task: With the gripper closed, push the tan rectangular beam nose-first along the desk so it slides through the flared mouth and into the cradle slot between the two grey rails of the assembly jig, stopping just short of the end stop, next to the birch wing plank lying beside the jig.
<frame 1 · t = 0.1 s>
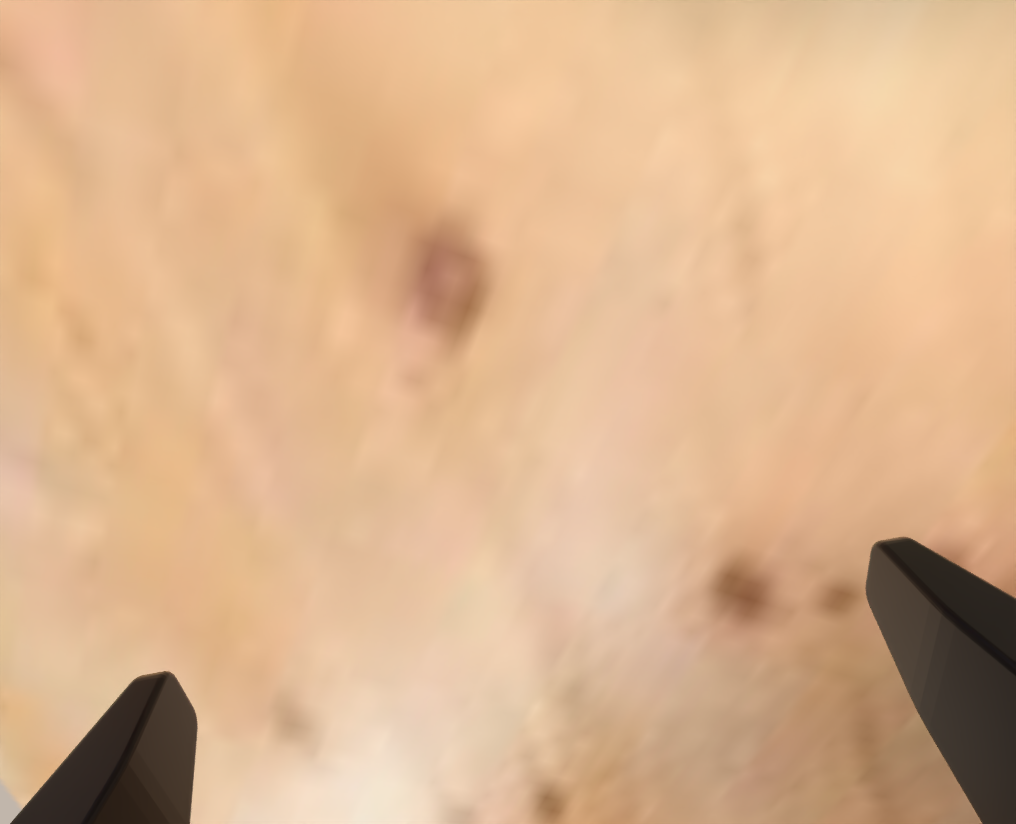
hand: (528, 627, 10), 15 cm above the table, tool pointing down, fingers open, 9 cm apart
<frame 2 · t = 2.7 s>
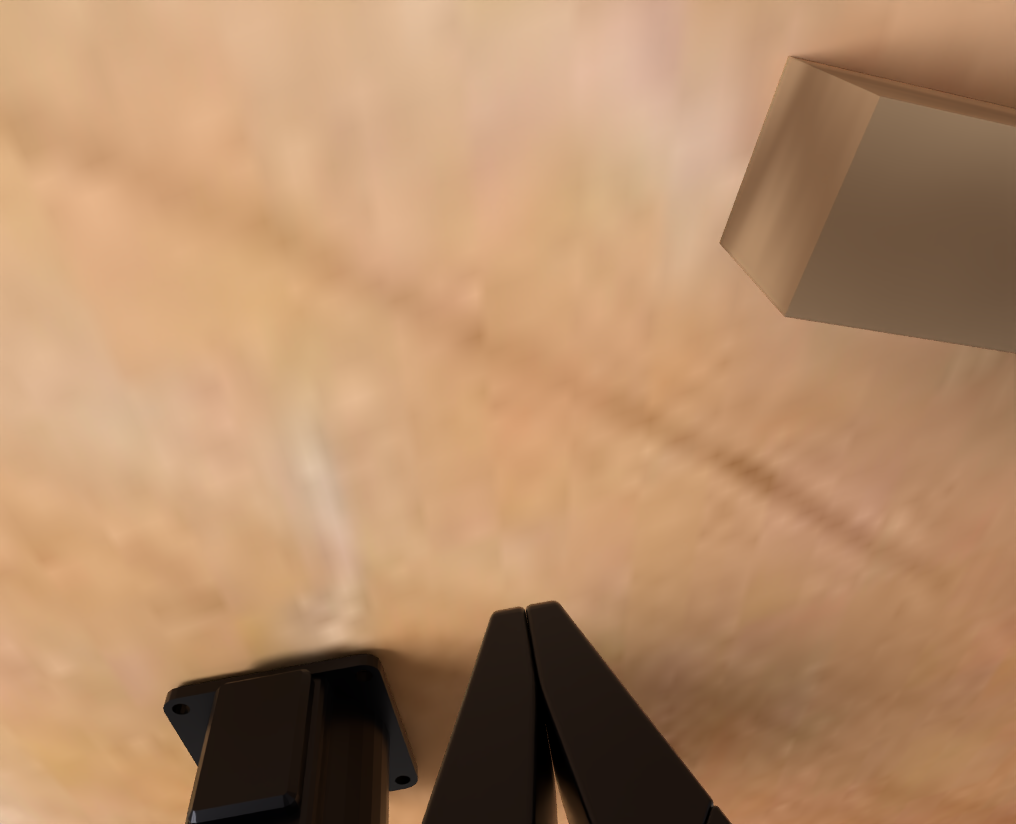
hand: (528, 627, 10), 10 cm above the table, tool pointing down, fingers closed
tan rectangular beam: (983, 199, 19), on the table
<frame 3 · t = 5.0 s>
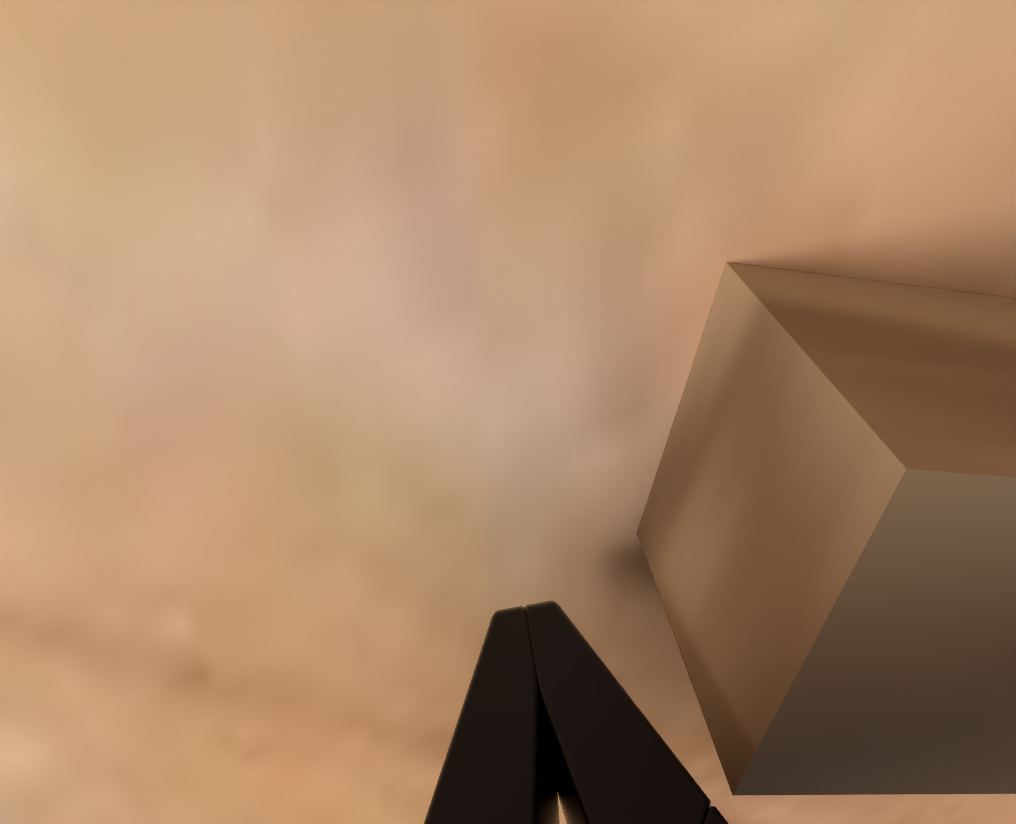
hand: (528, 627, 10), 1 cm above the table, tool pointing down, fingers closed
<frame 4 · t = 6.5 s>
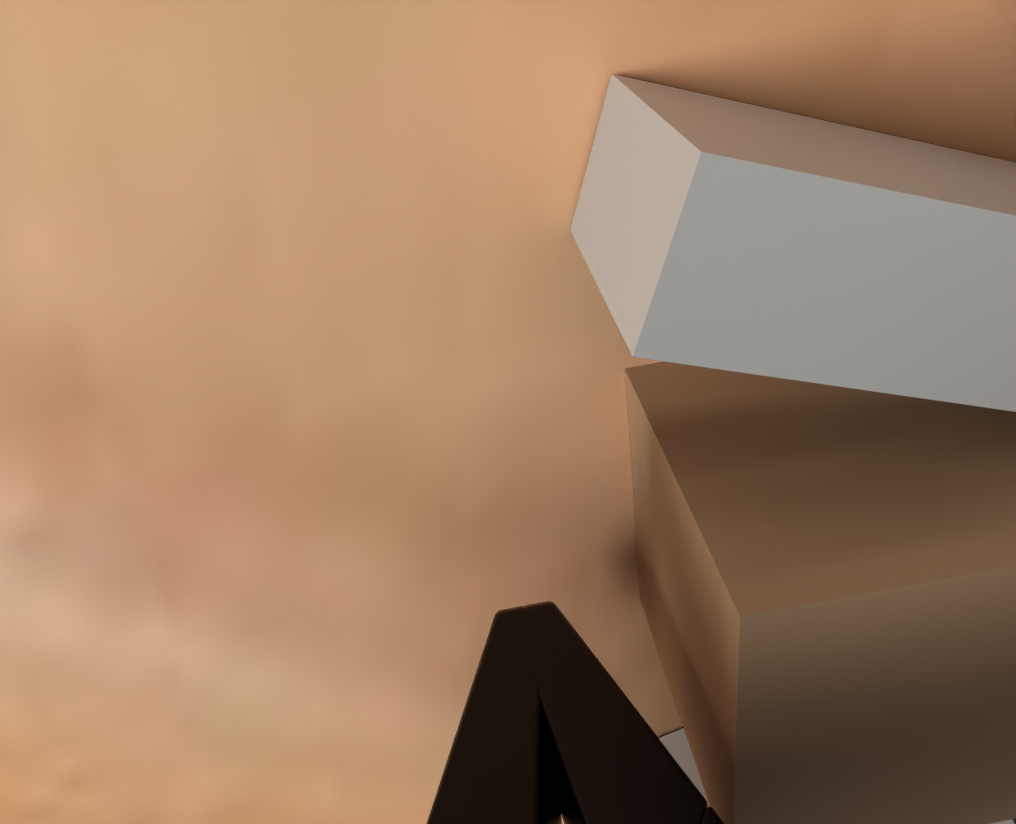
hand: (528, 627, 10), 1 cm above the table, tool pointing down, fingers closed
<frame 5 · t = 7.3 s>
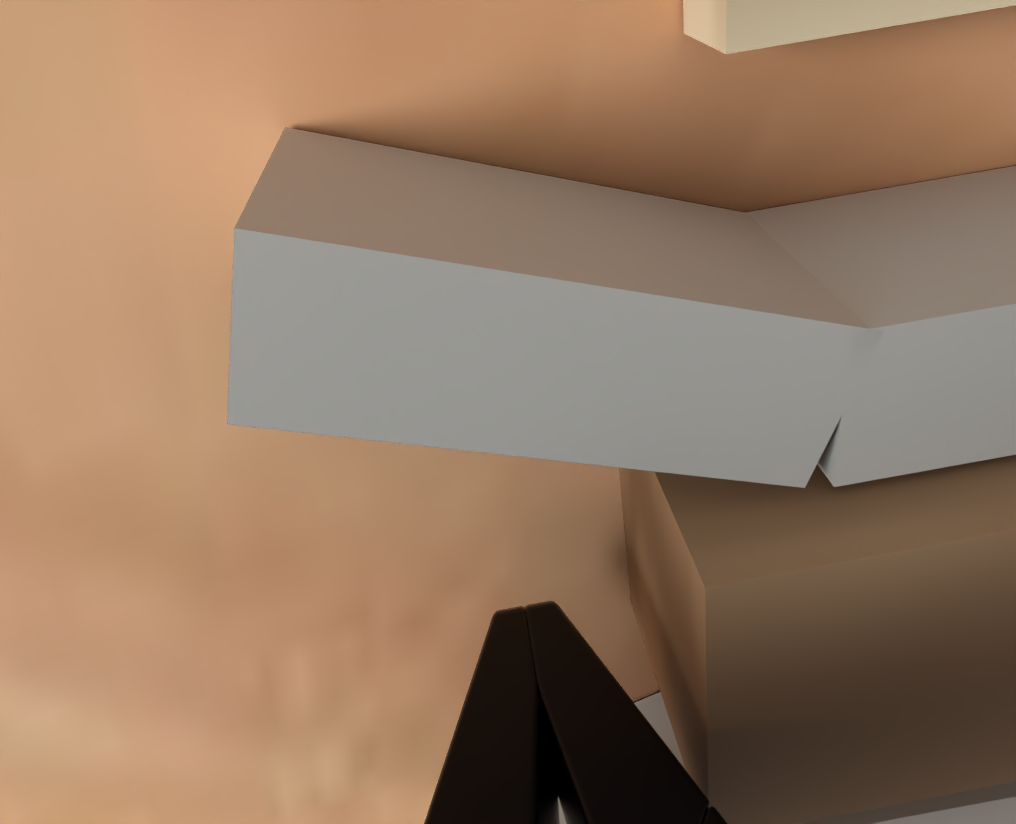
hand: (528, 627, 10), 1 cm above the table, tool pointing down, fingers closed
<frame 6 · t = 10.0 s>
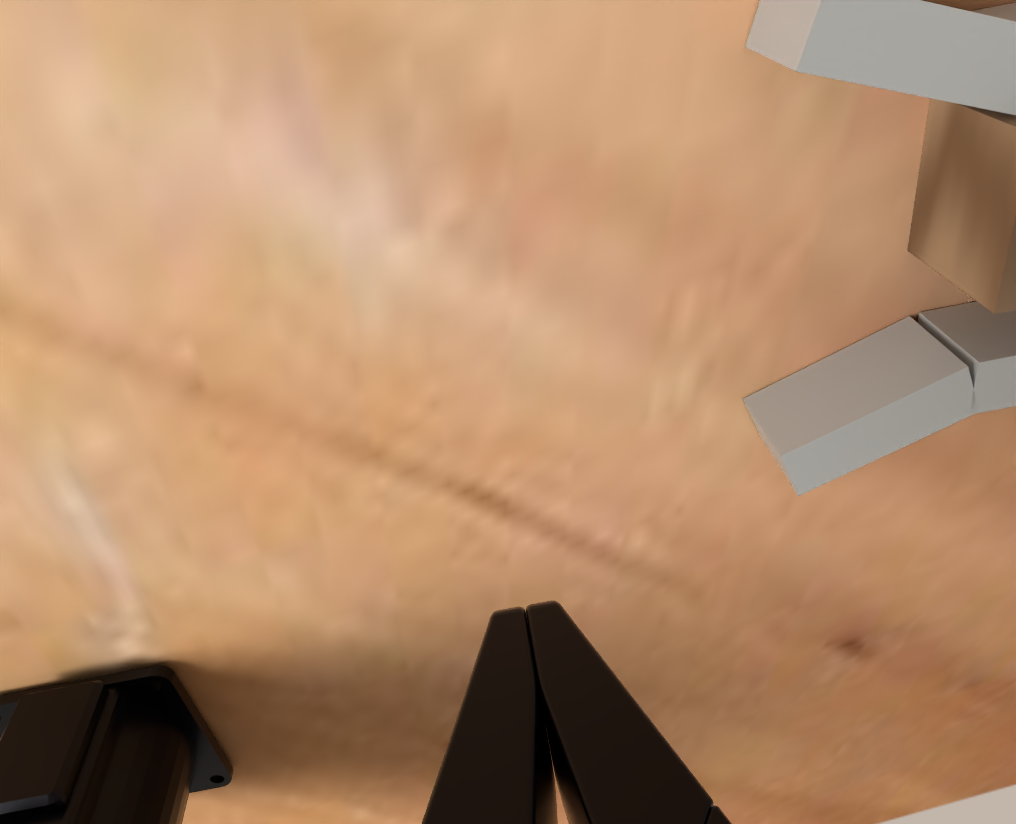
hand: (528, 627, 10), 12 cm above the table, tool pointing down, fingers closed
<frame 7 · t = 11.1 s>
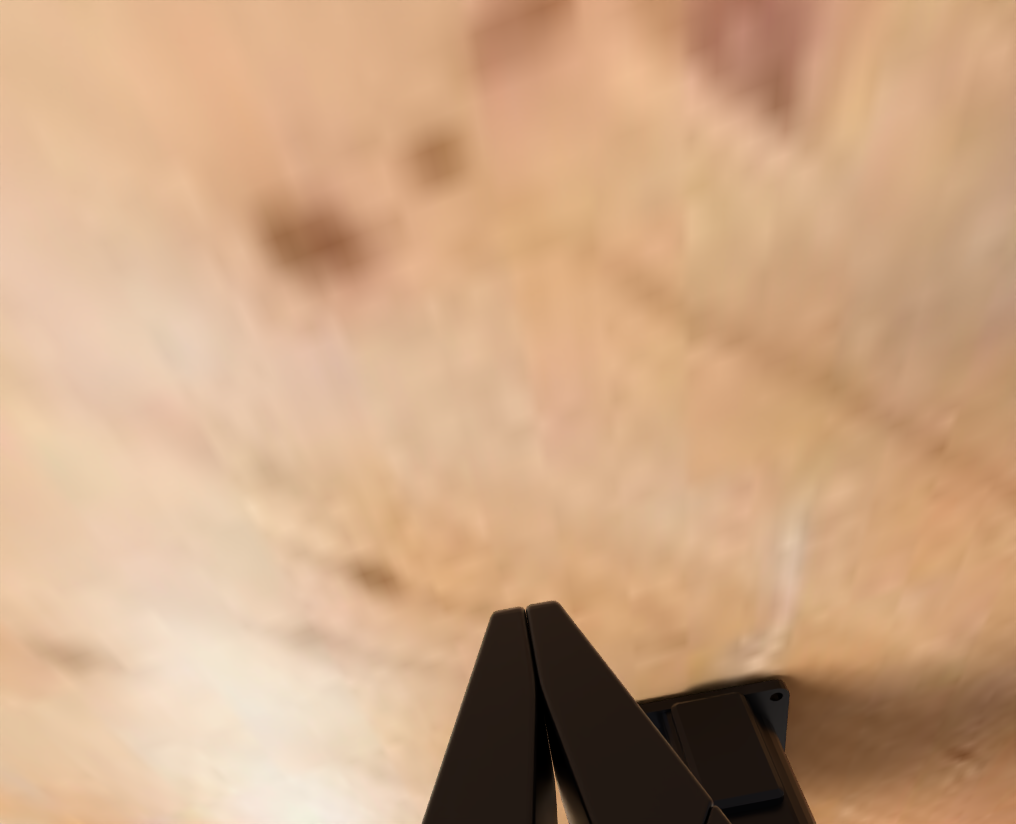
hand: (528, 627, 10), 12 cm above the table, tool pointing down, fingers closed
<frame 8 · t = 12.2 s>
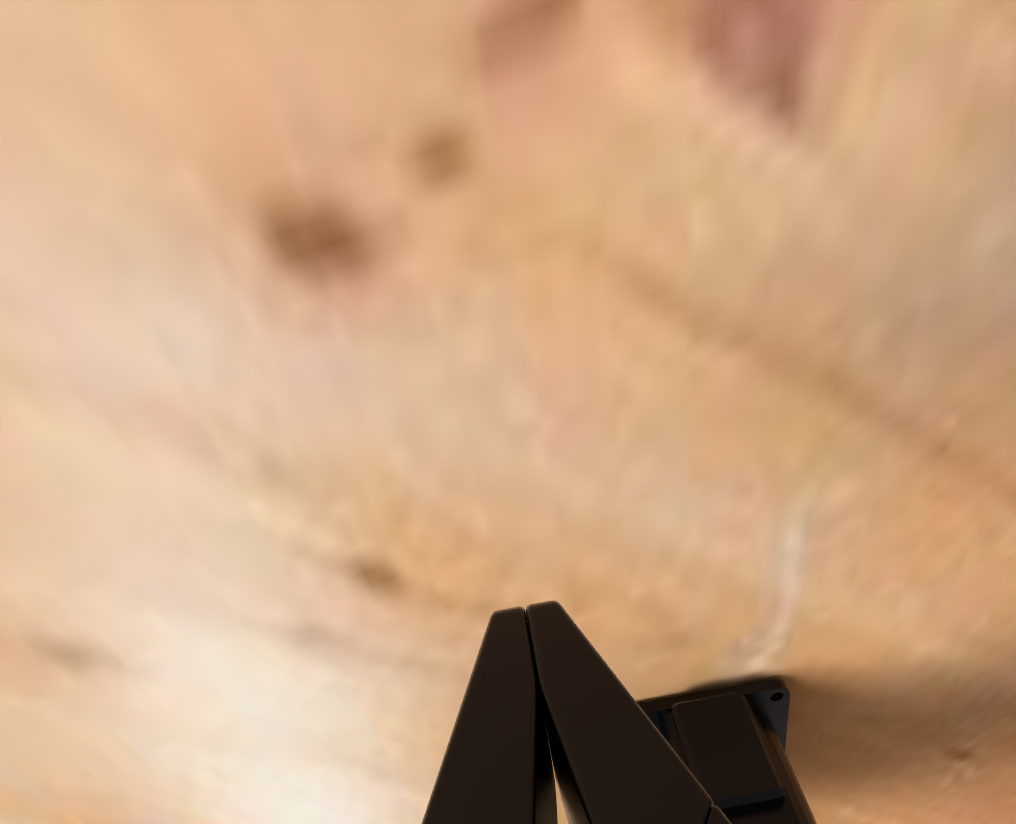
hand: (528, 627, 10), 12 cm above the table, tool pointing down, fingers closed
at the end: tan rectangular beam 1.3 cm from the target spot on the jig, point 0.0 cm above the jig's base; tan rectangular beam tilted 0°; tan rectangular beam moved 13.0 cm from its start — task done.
